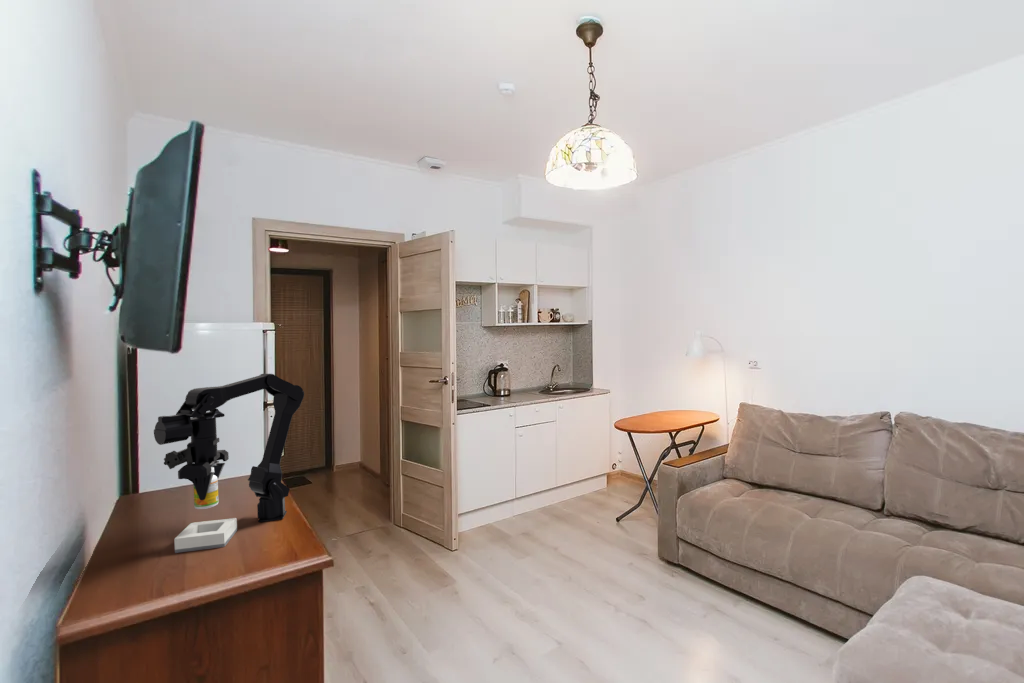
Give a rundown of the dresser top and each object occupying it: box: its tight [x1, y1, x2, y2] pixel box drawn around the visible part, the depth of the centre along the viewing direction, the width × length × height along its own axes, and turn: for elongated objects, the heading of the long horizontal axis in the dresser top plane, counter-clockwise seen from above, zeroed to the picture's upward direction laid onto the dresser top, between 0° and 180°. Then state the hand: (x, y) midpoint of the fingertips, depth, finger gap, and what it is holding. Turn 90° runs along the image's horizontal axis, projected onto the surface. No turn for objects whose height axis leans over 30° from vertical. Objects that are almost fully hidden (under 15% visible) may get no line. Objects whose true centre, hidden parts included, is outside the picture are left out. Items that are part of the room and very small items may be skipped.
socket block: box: [174, 517, 238, 554], centre depth 127 cm, size 11×11×4 cm
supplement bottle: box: [193, 467, 220, 510], centre depth 127 cm, size 5×5×10 cm
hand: (206, 496), depth 127 cm, fingers closed on supplement bottle, 5 cm apart
